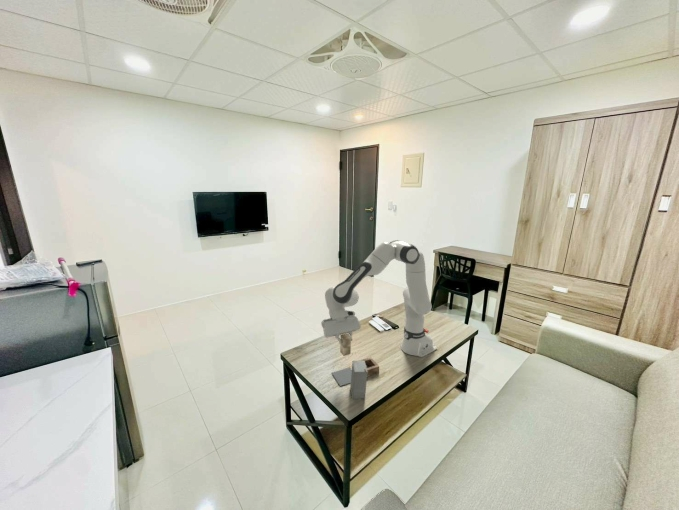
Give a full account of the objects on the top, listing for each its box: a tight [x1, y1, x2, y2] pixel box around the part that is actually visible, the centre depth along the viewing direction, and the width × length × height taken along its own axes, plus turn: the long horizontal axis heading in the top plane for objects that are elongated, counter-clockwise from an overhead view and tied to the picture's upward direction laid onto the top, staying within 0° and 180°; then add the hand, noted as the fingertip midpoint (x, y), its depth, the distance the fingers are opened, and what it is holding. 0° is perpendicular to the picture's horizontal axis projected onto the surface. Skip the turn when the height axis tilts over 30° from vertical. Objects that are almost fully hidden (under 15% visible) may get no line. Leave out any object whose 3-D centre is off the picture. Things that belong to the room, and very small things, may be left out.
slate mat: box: [331, 367, 352, 387], centre depth 145 cm, size 11×11×1 cm
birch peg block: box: [339, 333, 352, 357], centre depth 140 cm, size 4×4×10 cm
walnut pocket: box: [358, 356, 380, 377], centre depth 150 cm, size 9×9×4 cm
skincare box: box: [349, 360, 368, 400], centre depth 132 cm, size 8×7×16 cm
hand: (346, 342), depth 139 cm, fingers closed on birch peg block, 4 cm apart
